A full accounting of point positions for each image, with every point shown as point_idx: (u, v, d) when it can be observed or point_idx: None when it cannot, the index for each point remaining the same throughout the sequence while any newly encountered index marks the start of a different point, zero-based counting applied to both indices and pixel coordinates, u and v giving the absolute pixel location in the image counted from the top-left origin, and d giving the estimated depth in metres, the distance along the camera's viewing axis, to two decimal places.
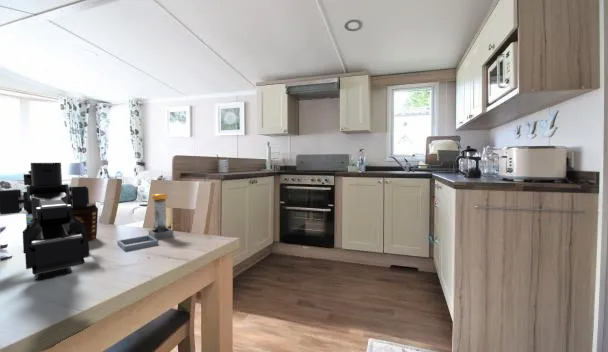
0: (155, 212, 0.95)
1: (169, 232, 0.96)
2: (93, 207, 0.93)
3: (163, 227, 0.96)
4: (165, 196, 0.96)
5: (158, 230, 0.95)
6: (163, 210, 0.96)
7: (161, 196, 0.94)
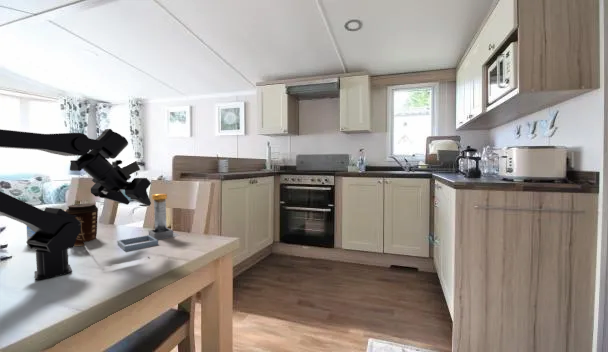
0: (155, 212, 0.95)
1: (169, 232, 0.96)
2: (93, 207, 0.93)
3: (163, 227, 0.96)
4: (165, 196, 0.96)
5: (158, 230, 0.95)
6: (163, 210, 0.96)
7: (161, 196, 0.94)
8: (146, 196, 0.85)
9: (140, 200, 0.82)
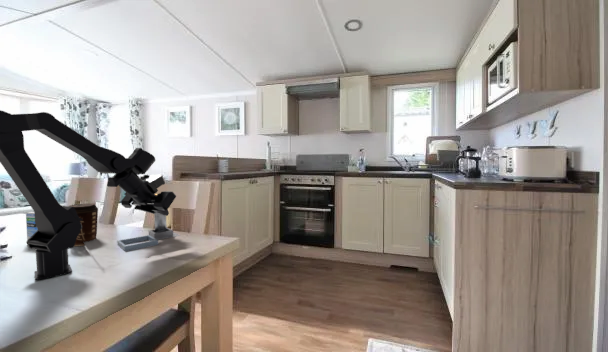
0: (155, 212, 0.95)
1: (169, 232, 0.96)
2: (93, 207, 0.93)
3: (163, 227, 0.96)
4: None
5: (158, 230, 0.95)
6: None
7: None
8: None
9: (160, 211, 0.92)
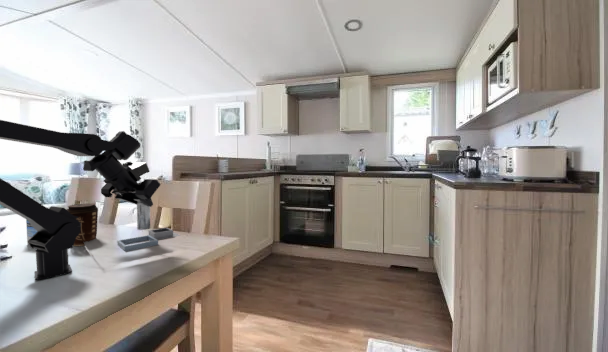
0: (138, 202, 0.88)
1: (169, 232, 0.96)
2: (93, 207, 0.93)
3: (146, 219, 0.89)
4: None
5: (140, 222, 0.88)
6: None
7: None
8: None
9: (143, 201, 0.85)
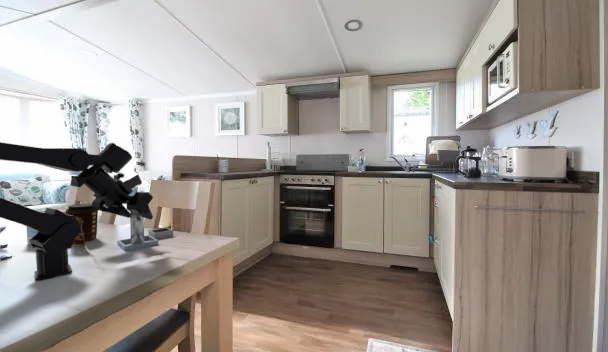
0: (131, 220, 0.85)
1: (169, 232, 0.96)
2: None
3: (140, 237, 0.86)
4: None
5: (134, 240, 0.85)
6: (141, 217, 0.86)
7: None
8: (148, 210, 0.84)
9: (142, 214, 0.81)
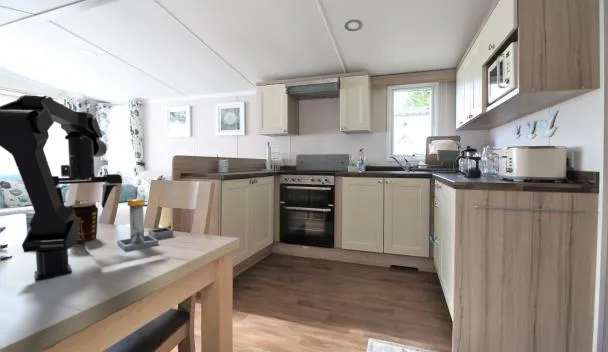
0: (131, 220, 0.85)
1: (169, 232, 0.96)
2: (93, 207, 0.93)
3: (140, 237, 0.86)
4: (142, 202, 0.86)
5: (134, 240, 0.85)
6: (140, 217, 0.86)
7: (137, 202, 0.85)
8: None
9: None
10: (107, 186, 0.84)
